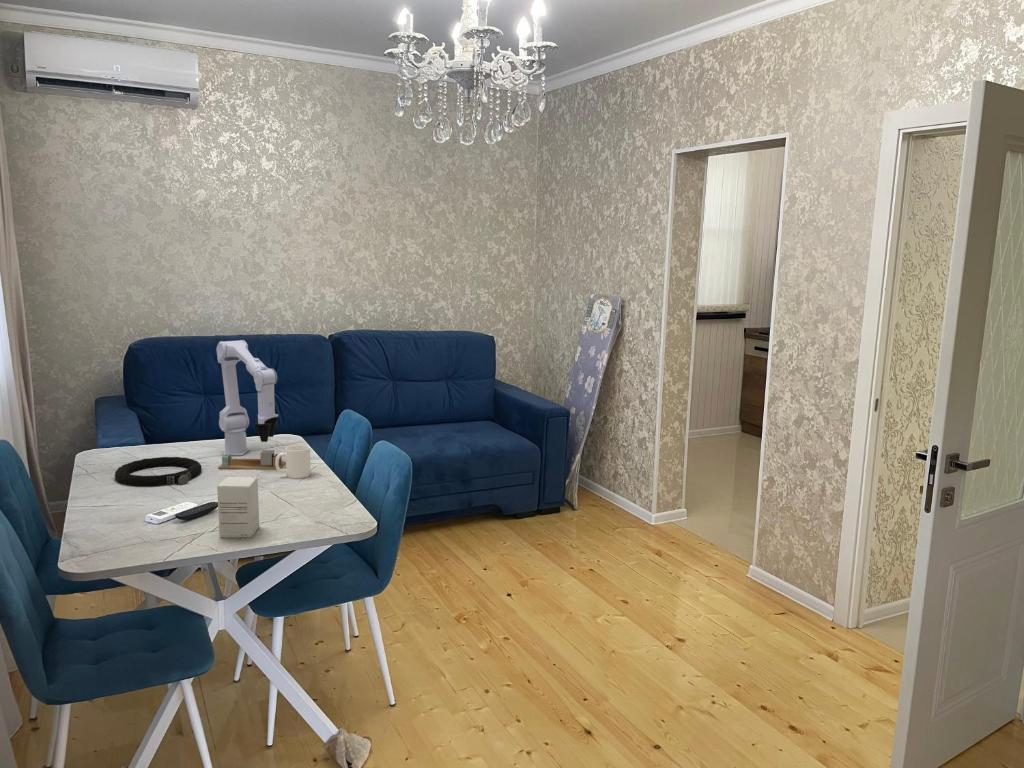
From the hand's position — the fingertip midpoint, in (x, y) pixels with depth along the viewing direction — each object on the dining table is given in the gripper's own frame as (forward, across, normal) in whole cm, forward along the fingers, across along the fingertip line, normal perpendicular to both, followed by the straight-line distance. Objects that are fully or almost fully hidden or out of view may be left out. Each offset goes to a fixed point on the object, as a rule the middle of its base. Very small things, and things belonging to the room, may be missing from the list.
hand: (267, 439), depth 274 cm
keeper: (+10, 0, 0) cm, 10 cm away
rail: (+10, 0, +6) cm, 12 cm away
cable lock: (+11, -13, +33) cm, 37 cm away
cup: (+11, -11, -12) cm, 19 cm away
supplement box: (+11, -65, -10) cm, 67 cm away
